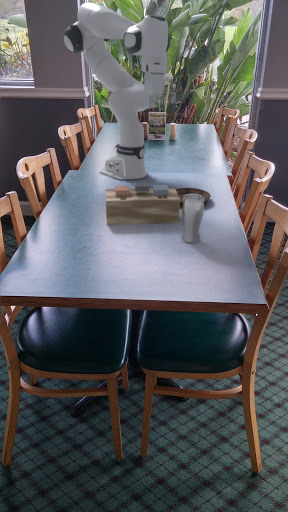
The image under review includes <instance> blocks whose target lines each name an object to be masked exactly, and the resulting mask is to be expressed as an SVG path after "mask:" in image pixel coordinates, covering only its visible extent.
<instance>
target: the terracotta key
mask: <svg viewBox="0 0 288 512" xmlns="http://www.w3.org/2000/svg"><path fill="white" fill-rule="evenodd" d="M114 187H115V188H114V189H115V193H116V196H130V189H131V188H130V186H129V185H114Z"/></svg>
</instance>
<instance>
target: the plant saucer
mask: <svg viewBox="0 0 288 512" xmlns="http://www.w3.org/2000/svg"><path fill="white" fill-rule="evenodd" d="M175 189H176V191H177V194H178V196H179V198H180V207H182V206H183V199H184V196H185V195H187V194H199V195H202V196H203V197H204V205H205V204H206V203H207V202H208V201H209V200H210V199H211V196H212V195H211V193H210V192H209V191H206V190H204V189H201V188H194V187H179V188H175Z"/></svg>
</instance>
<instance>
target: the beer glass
mask: <svg viewBox="0 0 288 512" xmlns="http://www.w3.org/2000/svg"><path fill="white" fill-rule="evenodd" d="M181 207H182V209H181V210H182V211H181V216H182V223H183V224H182V225H183V231H182V236H181V241H182V242H184V241H185V243H187V242H190V243H189V244H194V243H193V242H197V243H199V242H200V241H199V240H201V237H200V228H201V224H202V221H203V218H204V210H205V204H204V197H203V196H202V195H199V194H187V195H185V196H184V199H183V206H181ZM198 241H199V242H198Z"/></svg>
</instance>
